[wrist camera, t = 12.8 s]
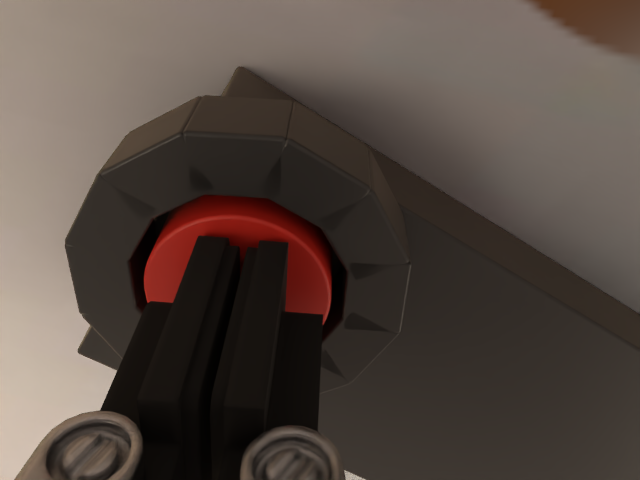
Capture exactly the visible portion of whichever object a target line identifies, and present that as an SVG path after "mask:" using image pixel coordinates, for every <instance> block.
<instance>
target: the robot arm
mask: <svg viewBox="0 0 640 480" xmlns="http://www.w3.org/2000/svg"><path fill="white" fill-rule="evenodd" d="M288 249H289V243H288V242H277V241H265V240H260V241H259V244H258V248H256V247H248V248H247V251H246V255H245V259H244V263H243V267H242V272H241V276H240V248H239V246H231V245H230V242H229V238H227V237H214V236H201V235H200V236H198V238H197V240H196V243H195V245H194V248H193V251H192V253H191V256H190V259H189V261H188V264H187V267H186V269H185V272H184V275H183V277H182V280H181V283H180V285H179V288H178V291H177V293H176V296H175V299H174V301H173V303H170V302H157V301H150V302H148V303H147V305H146V307H145V308H144V311H143V313H142V315H141V317H140V320H139V322H138V324H137V327H136V329H135V331H134V334H133V336H132V338H131V341H130V343H129V345H128V347H127V350H126V352H125V354H124V357H123V359H122V361H121V364H120V366H119V368H118V371H117V373H116V375H115V378H114V380H113V382H112V384H111V387H110V389H109V391H108V394H107V396H106V398H105V401H104V403H103V405H102V408H101V410H100V411H93V412H87V413H82V414H79V415H77V416H74V417H72V418H69V419H67V420H65V421H64V422H62V423H61V424H59V425H58V426H56V427H55V428H53V429H52V430H51V431H50V432H49V433H48V434H47V435H46V437H45V438H44V439H43V440H42V441H41V442H40V444H39V445H38V447H37V448H36V449H35V451H34V452H33V454H32V455H31V457H30V458H29V459H28V461H27V462H26V464H25V465H24V467H23V468H22V469H21V471H20V472H19V474H18V475H17V477H16V478H15V479H14V480H346V479H345V473H344V467H343V463H342V460H341V457H340V454H339V451H338V450H337V448H336V447H335V446H334V445H333V443H332V442H331V441H330V440H329V439H328V438H327V437H325V436H324V435H322V434H321V433H319V432H318V415H319V394H320V373H321V351H322V330H323V314H311V313H298V312H285V307H286V288H287V269H288Z"/></svg>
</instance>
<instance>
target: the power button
mask: <svg viewBox="0 0 640 480" xmlns="http://www.w3.org/2000/svg"><path fill="white" fill-rule="evenodd" d="M200 235H201V236H214V237H227V238H229V242H230V245H231V246H239V248H240V276H241V272H242V267H243V263H244V259H245V255H246V251H247V248H248V247H256V248H258V244H259V241H260V240H265V241H277V242H288V243H289V249H288V269H287V288H286V307H285V312H298V313H311V314H323V324H324V323H325V321H326V319H327V316H328V313H329V310H330V305H331V295H332V257H333V248H332V246H331V245H330V243H329V241H328V240H327V238H326V236H325V235H324V233H323V231H322V230H321V228H319V227H318V226H316V225H314V224H312V223H311V222H309V221H307V220H305V219H303V218H302V217H300V216H298V215H296V214H295V213H293V212H291V211H289V210H287V209H286V208H284V207H282V206H280V205H279V204H277V203H275V202H273V201H271V200H270V199H268V198H252V197H235V196H218V195H203V196H201V197H199V198H197V199H195V200H192V201H190V202H188V203H186V204H184V205H182V206H179V207H177V208H175V209H173V210H171V211H170V213H169V215H168V217H167V219H166V222H165V224H164V226H163V228H162V230H161V232H160V234H159V237H158V239H157V241H156V243H155V245H154V247H153V249H152V251H151V254H150V256H149V258H148V260H147V263H146V267H145V272H144V290H145V294H146V299H147V302H150V301H157V302H170V303H173V301H174V299H175V296H176V293H177V291H178V288H179V285H180V283H181V280H182V277H183V275H184V272H185V269H186V267H187V264H188V261H189V259H190V256H191V253H192V251H193V248H194V245H195V243H196V240H197V238H198V236H200Z"/></svg>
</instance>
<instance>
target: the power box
mask: <svg viewBox="0 0 640 480" xmlns="http://www.w3.org/2000/svg"><path fill="white" fill-rule="evenodd" d="M203 195H218V196H235V197H252V198H268V199H270V200H271V201H273V202H275V203H277V204H279V205H280V206H282V207H284V208H286V209H287V210H289V211H291V212H293V213H295V214H296V215H298V216H300V217H302V218H303V219H305V220H307V221H309V222H311V223H312V224H314V225H316V226H318V227H319V228H321V230H322V231H323V233H324V235H325V236H326V238H327V240H328V241H329V243H330V245H331V246H332V248H333V257H332V295H331V305H330V310H329V313H328V316H327V319H326V321H325V323H324V324H323V330H322V351H321V373H320V394H319V415H318V432H319V433H321V434H322V435H324V436H325V437H327V438H328V439H329V440H330V441H331V442H332V443H333V445H334V446H335V447H336V448H337V450H338V451H339V454H340V457H341V460H342V463H343V467H344V470H346V471H348V472H350V473H353V474H355V475H357V476H359V477H362V478H364V479H366V480H640V315H639V314H638V313H636V312H635V311H633V310H631V309H630V308H628V307H627V306H625V305H623V304H622V303H620V302H619V301H617V300H615V299H614V298H612V297H611V296H609V295H607V294H606V293H604V292H602V291H601V290H599V289H598V288H596V287H594V286H593V285H591V284H590V283H588V282H586V281H585V280H583V279H582V278H580V277H578V276H577V275H575V274H574V273H572V272H570V271H569V270H567V269H566V268H564V267H562V266H561V265H559V264H558V263H556V262H554V261H553V260H551V259H550V258H548V257H546V256H545V255H543V254H542V253H540V252H538V251H537V250H535V249H533V248H532V247H530V246H529V245H527V244H525V243H524V242H522V241H521V240H519V239H517V238H516V237H514V236H513V235H511V234H509V233H508V232H506V231H505V230H503V229H501V228H500V227H498V226H497V225H495V224H493V223H492V222H490V221H489V220H487V219H485V218H484V217H482V216H481V215H479V214H477V213H476V212H474V211H473V210H471V209H469V208H468V207H466V206H464V205H463V204H461V203H460V202H458V201H456V200H455V199H453V198H452V197H450V196H448V195H447V194H445V193H444V192H442V191H440V190H439V189H437V188H436V187H434V186H432V185H431V184H429V183H428V182H426V181H424V180H423V179H421V178H420V177H418V176H416V175H415V174H413V173H412V172H410V171H408V170H407V169H405V168H404V167H402V166H400V165H399V164H397V163H396V162H394V161H392V160H391V159H389V158H387V157H386V156H384V155H383V154H381V153H379V152H378V151H376V150H375V149H373V148H371V147H370V146H368V145H367V144H365V143H363V142H362V141H360V140H359V139H357V138H355V137H354V136H352V135H351V134H349V133H347V132H346V131H344V130H343V129H341V128H339V127H338V126H336V125H335V124H333V123H331V122H330V121H328V120H327V119H325V118H323V117H322V116H320V115H318V114H317V113H315V112H314V111H312V110H310V109H309V108H307V107H306V106H304V105H302V104H301V103H299V102H298V101H296V100H294V99H293V98H291V97H290V96H288V95H286V94H285V93H283V92H282V91H280V90H278V89H277V88H275V87H274V86H272V85H270V84H269V83H267V82H266V81H264V80H262V79H261V78H259V77H258V76H256V75H254V74H253V73H251V72H250V71H248V70H246V69H245V68H243V67H240V66H239V67H238V68H237V69H236V71H235V72H234V74H233V76H232V77H231V79H230V81H229V83H228V84H227V86H226V88H225V90H224V91H223V93H222V95H221V96H208V95H205V96H199V97H196V98H194V99H192V100H190V101H189V102H187V103H185V104H183V105H181V106H179V107H177V108H175V109H173V110H171V111H169V112H167V113H165V114H163V115H162V116H160V117H158V118H156V119H154V120H152V121H150V122H148V123H146V124H144V125H142V126H140V127H138V128H136V129H134V130H133V131H131V132H129V134H128V135H126V136H125V138H124V139H123V140H122V142H121V143H120V144H119V146H118V147H117V148H116V150H115V151H114V152H113V154H112V155H111V157H110V158H109V159H108V161H107V162H106V163H105V165H104V166H103V167H102V169H101V170H100V171H99V173H98V174H97V176H96V178H95V180H94V182H93V184H92V186H91V188H90V190H89V192H88V194H87V196H86V198H85V200H84V202H83V204H82V206H81V208H80V210H79V212H78V214H77V216H76V219H75V221H74V223H73V225H72V227H71V229H70V231H69V233H68V235H67V237H66V239H65V249H66V253H67V258H68V262H69V267H70V272H71V276H72V281H73V285H74V290H75V294H76V299H77V303H78V308H79V312H80V314H82V316H83V318H84V319H85V320H86V321H87V322H88V323H89V324H90V327H89V329H88V331H87V333H86V335H85V337H84V339H83V340H82V342H81V344H80V346H79V348H78V353H79V354H81V355H83V356H86V357H88V358H90V359H92V360H95V361H97V362H99V363H101V364H104V365H106V366H108V367H111V368H113V369H115V370H117V371H118V368H119V366H120V364H121V361H122V359H123V357H124V354H125V352H126V350H127V347H128V345H129V343H130V341H131V338H132V336H133V334H134V331H135V329H136V327H137V324H138V322H139V320H140V317H141V315H142V313H143V311H144V308H145V307H146V305H147V303H148V302H147V299H146V294H145V290H144V272H145V267H146V263H147V260H148V258H149V256H150V254H151V251H152V249H153V247H154V245H155V243H156V241H157V239H158V237H159V234H160V232H161V230H162V228H163V226H164V224H165V222H166V219H167V217H168V215H169V213H170V211H171V210H173V209H175V208H177V207H179V206H182V205H184V204H186V203H188V202H190V201H192V200H195V199H197V198H199V197H201V196H203Z"/></svg>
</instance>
